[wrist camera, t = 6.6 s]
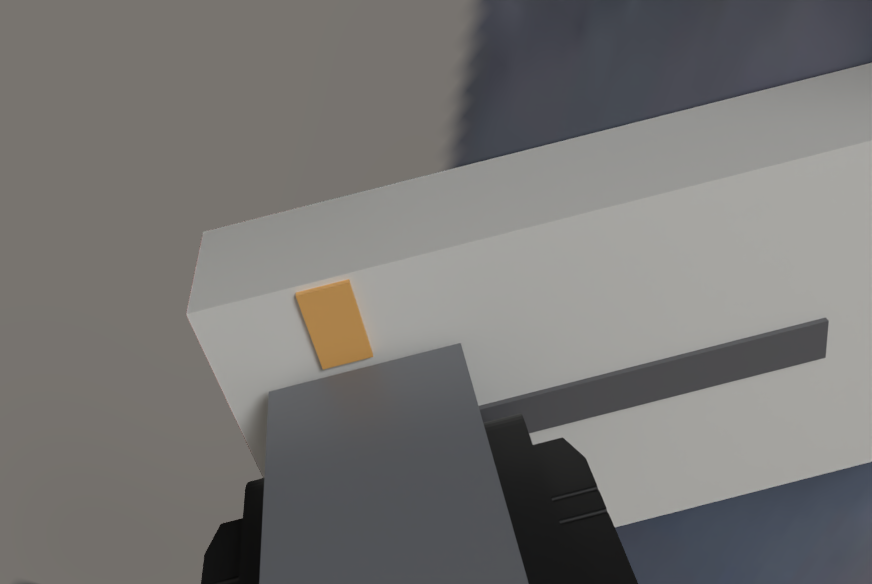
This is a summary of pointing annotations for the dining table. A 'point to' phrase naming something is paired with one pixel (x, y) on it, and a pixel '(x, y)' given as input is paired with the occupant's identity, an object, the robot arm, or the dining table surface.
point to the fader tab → (385, 480)
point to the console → (596, 293)
